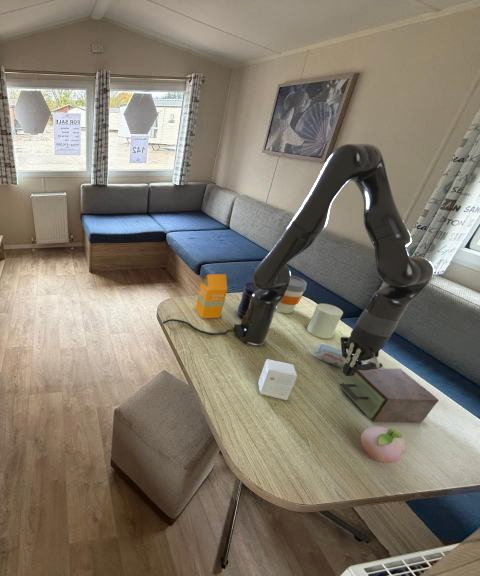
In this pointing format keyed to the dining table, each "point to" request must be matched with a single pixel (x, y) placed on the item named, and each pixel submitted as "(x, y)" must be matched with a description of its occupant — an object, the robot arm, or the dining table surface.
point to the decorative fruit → (383, 444)
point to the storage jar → (246, 299)
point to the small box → (277, 379)
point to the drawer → (363, 394)
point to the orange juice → (212, 296)
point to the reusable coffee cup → (292, 295)
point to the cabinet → (399, 396)
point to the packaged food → (330, 355)
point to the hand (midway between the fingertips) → (346, 374)
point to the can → (324, 320)
